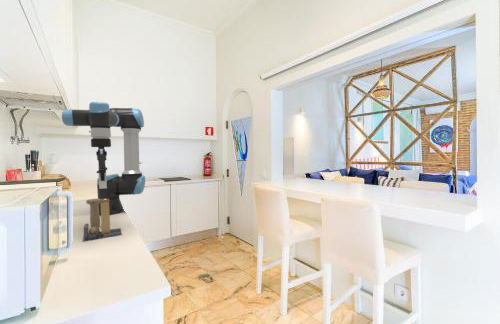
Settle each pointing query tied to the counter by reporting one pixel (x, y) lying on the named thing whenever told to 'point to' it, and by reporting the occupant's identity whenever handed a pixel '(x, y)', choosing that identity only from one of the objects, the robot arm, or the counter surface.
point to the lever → (105, 216)
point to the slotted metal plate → (94, 235)
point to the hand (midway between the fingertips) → (103, 186)
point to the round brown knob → (94, 230)
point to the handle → (94, 212)
